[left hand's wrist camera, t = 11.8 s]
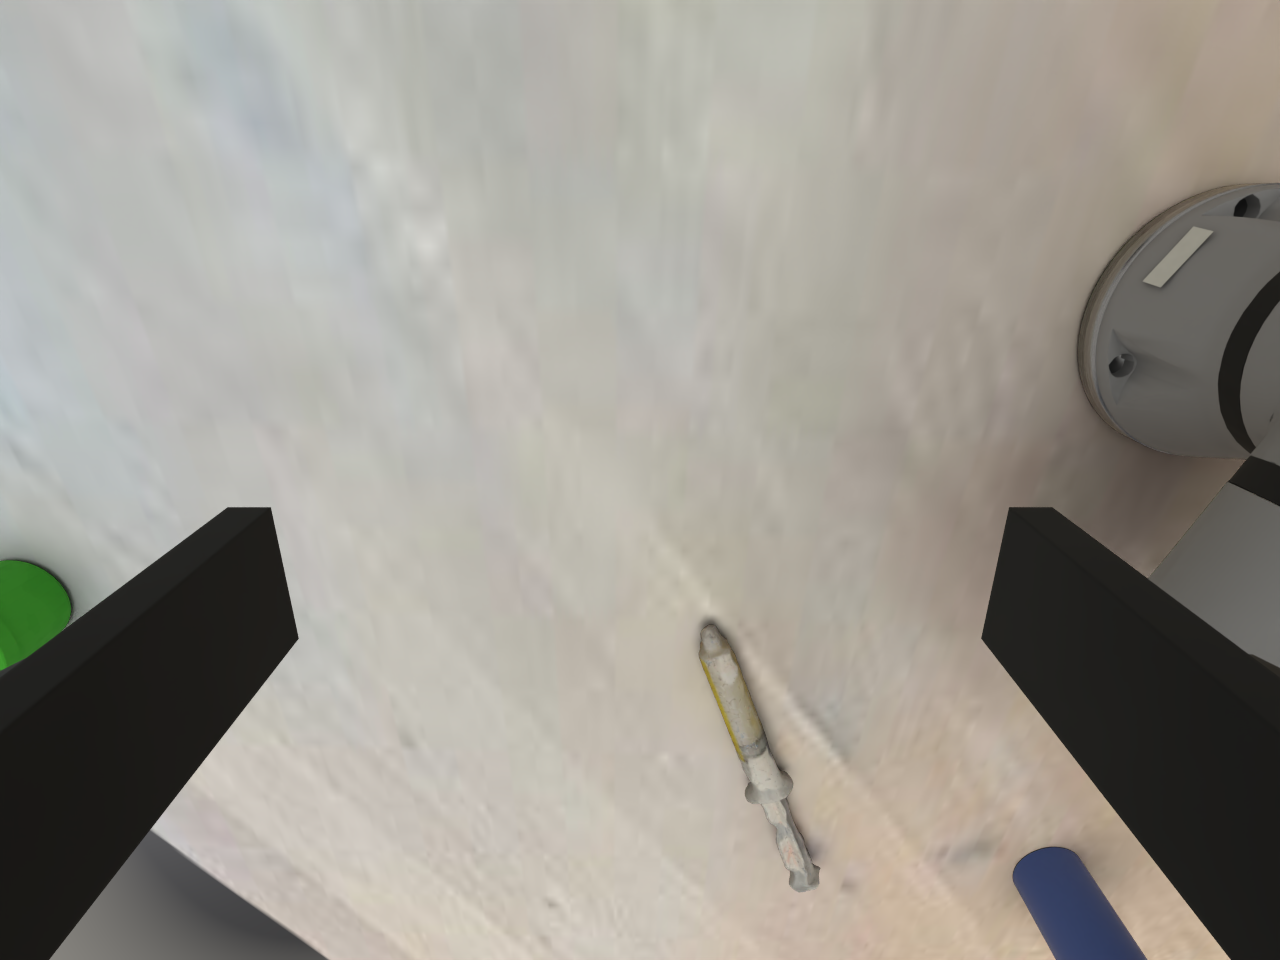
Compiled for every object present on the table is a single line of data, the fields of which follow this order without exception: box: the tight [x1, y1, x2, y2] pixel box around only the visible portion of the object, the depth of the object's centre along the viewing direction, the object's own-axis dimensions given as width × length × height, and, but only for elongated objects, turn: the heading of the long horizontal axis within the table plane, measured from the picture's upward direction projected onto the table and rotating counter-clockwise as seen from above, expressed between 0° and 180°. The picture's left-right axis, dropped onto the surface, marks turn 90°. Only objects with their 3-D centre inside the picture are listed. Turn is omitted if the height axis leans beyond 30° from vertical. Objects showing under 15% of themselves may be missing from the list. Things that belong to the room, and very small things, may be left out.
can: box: [1013, 847, 1147, 960], centre depth 53 cm, size 6×6×10 cm
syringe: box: [699, 625, 820, 892], centre depth 52 cm, size 25×4×3 cm, turn 18°
